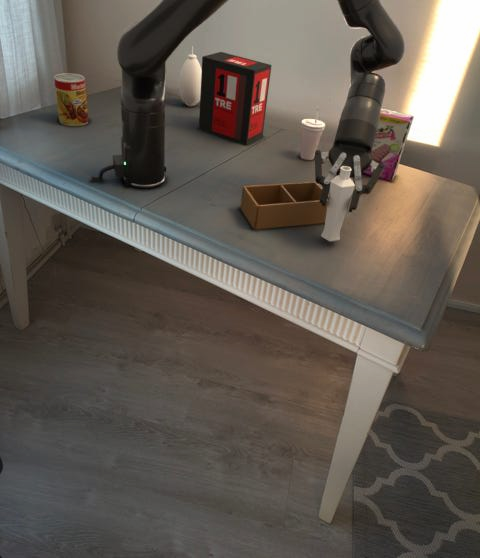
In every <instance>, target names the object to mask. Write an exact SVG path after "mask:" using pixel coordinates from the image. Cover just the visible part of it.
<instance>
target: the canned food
mask: <svg viewBox="0 0 480 558" xmlns="http://www.w3.org/2000/svg"><path fill="white" fill-rule="evenodd" d="M53 80H54V88H55V89H54V90H55V96H56V104H57V112H58V120H59V121H58V122H59V123H60V124H61V125H63V126H68V127H82V126H85V125H87V124H88V123H89V114H88V113H89V111H88V101H87V99H88V98H87V89H86V88H87V87H86V78H85V76H84V75H82V74H78V73H74V72H73V73H70V72H67V73H66V72H65V73H64V72H63V73H59V74H56V75H54V77H53Z"/></svg>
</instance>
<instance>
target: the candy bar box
mask: <svg viewBox="0 0 480 558" xmlns="http://www.w3.org/2000/svg"><path fill="white" fill-rule="evenodd" d="M413 121H414V115H411V114H408V113H404V112H399V111H394V110H391V109H388V108H383V107H381V111H380V120H379V124H378V130H377V132H376V136H375V140H374V144H373V148H372V152H371V157H372V161H374V162H376V163H378V164H379V163H383V164H384V169H383V171H382V173H381V175H380V177H379V179H380V180H381V179H382V180H384V181H388V182H392V181H393V180H394V178H395V177H396V175H397V171H398V168H399V165H400V161H401V159H402V155H403V152H404V149H405V145H406V142H407V140H408V136H409V133H410V131H411V127H412V124H413ZM361 174H362V175H367V176H370V177H371V176H372V175H373V174H371V167H370V166H369V167H368V168H367V169H366V170H364V171H363V172H362V173H361Z"/></svg>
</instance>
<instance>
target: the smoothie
mask: <svg viewBox="0 0 480 558" xmlns="http://www.w3.org/2000/svg"><path fill="white" fill-rule="evenodd" d="M319 113H320V106H319V105H318V106H317V108H316V112H315V118H304V119H302V120H301V122H300V126H301V135H300V136H301V137H300V152H299V153H300V154H299V157H300V158H301V159H302V160H306V161H312V160H315V152H316V151H317V150H318V146H319V143H320V140H321V138H322V135H323V131H324V130H325V128H326V123H325V122H324V121H322V120H320V119H318V117H319Z"/></svg>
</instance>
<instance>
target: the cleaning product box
mask: <svg viewBox="0 0 480 558" xmlns="http://www.w3.org/2000/svg"><path fill="white" fill-rule="evenodd" d="M201 70H202V74H201V95H200V101H199V115H198V116H199V117H198V118H199V119H198V130H201V131H203V132H207V133H209V134H213V135H215V136H218V137H221V138H224V139H227V140H230V141H233V142H235V143H239V144H242V145H244V146H247V145H249V144H251V143H253V142H256V141H258V140H259V139H262V138H263V135H264V126H265V119H266V113H267V112H266V111H267V103H268V95H269V88H270V81H271V73H272V64H269V63H266V62H262V61H257V60H255V59H250V58H246V57H242V56H239V55H236V54H231V53H228V52H224V51H218V52H213V53H211V54H210V53H209V54H206V55H202V57H201Z"/></svg>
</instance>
